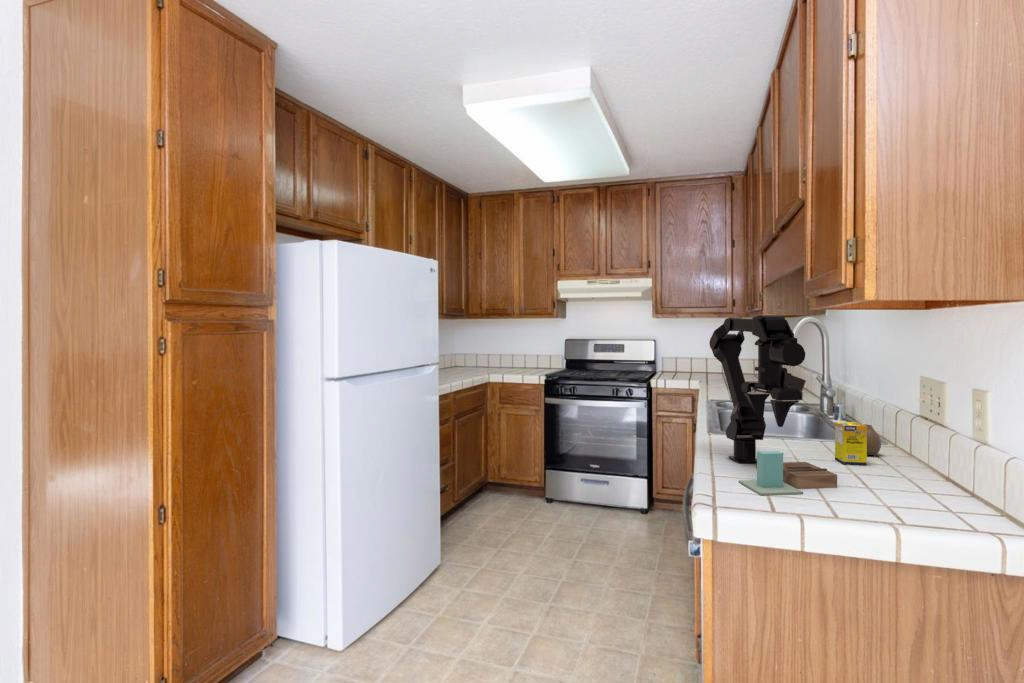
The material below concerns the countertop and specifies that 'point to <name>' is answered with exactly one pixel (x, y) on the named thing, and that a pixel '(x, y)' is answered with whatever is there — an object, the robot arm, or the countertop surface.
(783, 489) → the mat
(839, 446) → the supplement box
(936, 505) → the countertop surface
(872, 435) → the vase
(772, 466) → the tall teal box
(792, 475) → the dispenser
